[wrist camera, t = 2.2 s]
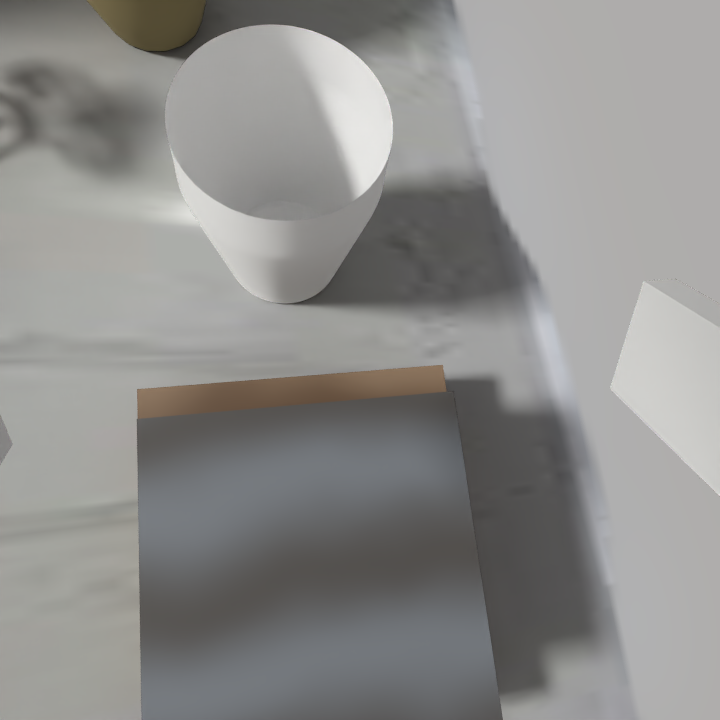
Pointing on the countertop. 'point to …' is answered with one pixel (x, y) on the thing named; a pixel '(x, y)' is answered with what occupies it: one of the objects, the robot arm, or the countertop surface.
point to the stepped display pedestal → (309, 552)
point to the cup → (279, 153)
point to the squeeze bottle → (152, 21)
